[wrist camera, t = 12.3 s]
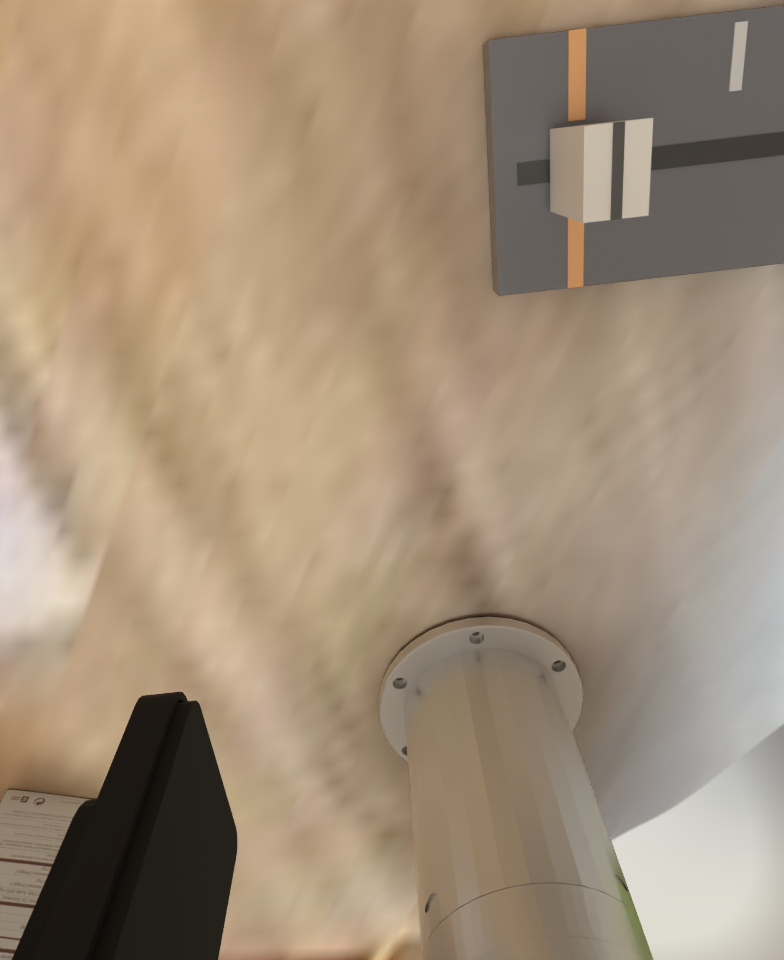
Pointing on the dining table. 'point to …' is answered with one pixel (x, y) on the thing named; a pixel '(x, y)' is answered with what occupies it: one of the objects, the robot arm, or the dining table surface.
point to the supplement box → (28, 855)
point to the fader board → (675, 147)
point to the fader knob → (601, 170)
